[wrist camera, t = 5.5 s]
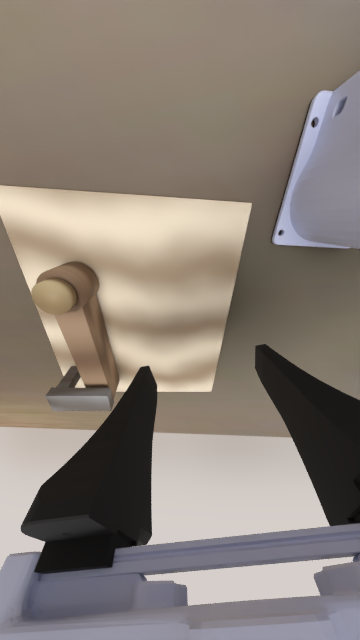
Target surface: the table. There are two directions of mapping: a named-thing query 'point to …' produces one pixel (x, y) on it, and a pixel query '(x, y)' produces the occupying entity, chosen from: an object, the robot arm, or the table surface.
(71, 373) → the plate
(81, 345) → the brown long round-headed piece
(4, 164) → the table surface
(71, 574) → the robot arm
